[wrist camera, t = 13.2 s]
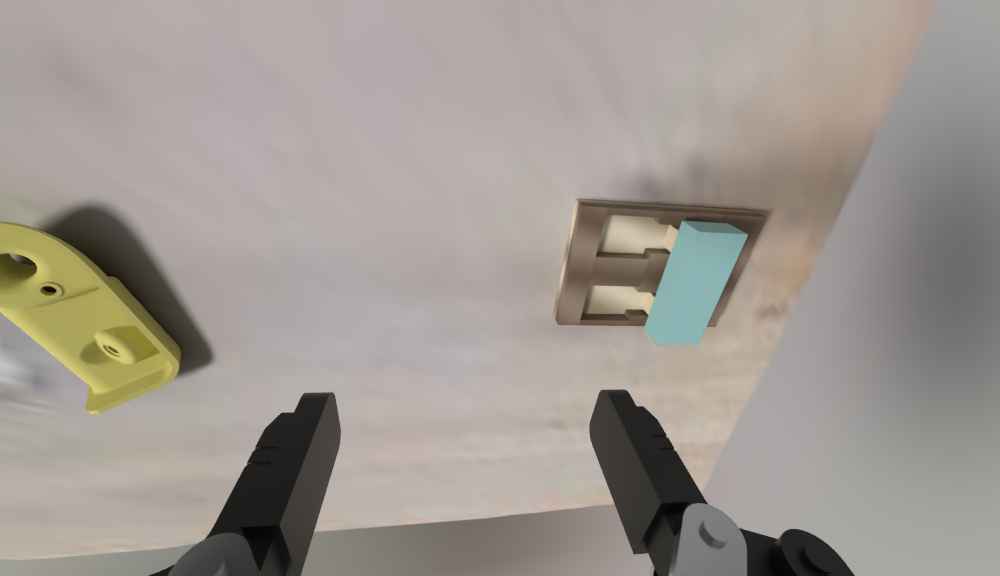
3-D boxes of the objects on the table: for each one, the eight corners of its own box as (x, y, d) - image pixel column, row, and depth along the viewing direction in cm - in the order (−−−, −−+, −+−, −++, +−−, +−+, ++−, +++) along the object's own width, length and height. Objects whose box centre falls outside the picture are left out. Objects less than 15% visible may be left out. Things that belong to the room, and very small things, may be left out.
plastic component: (190, 373, 40) (75, 424, 37) (194, 338, 46) (94, 379, 42) (31, 204, 29) (-159, 253, 25) (61, 184, 34) (-91, 222, 31)
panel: (669, 212, 39) (699, 231, 34) (712, 215, 39) (748, 234, 35) (634, 315, 45) (656, 344, 40) (672, 316, 46) (698, 344, 41)
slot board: (575, 198, 38) (583, 206, 36) (750, 210, 41) (766, 217, 39) (553, 313, 45) (558, 324, 42) (703, 315, 47) (715, 326, 45)
